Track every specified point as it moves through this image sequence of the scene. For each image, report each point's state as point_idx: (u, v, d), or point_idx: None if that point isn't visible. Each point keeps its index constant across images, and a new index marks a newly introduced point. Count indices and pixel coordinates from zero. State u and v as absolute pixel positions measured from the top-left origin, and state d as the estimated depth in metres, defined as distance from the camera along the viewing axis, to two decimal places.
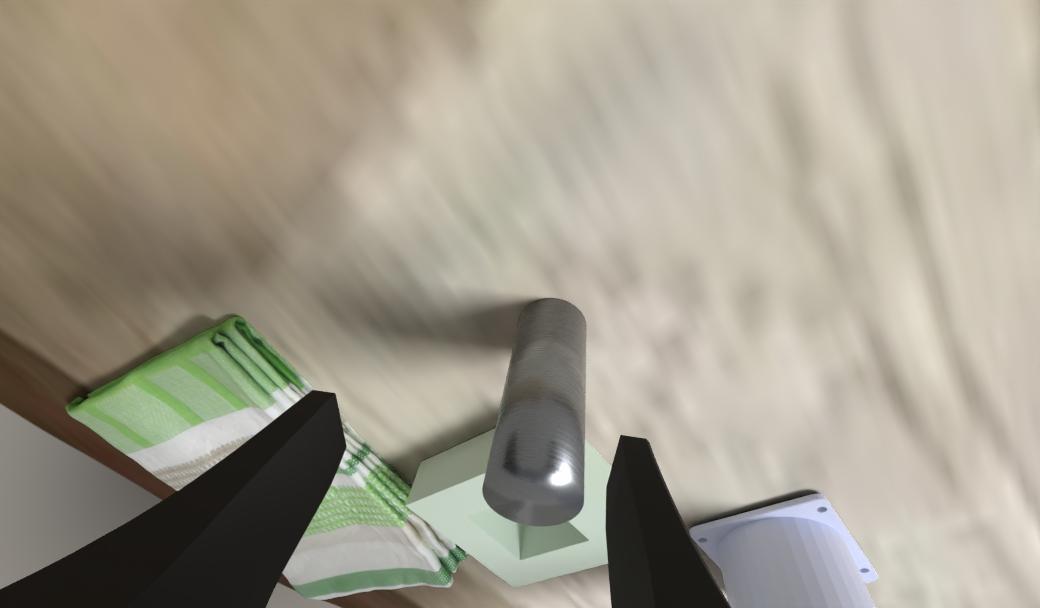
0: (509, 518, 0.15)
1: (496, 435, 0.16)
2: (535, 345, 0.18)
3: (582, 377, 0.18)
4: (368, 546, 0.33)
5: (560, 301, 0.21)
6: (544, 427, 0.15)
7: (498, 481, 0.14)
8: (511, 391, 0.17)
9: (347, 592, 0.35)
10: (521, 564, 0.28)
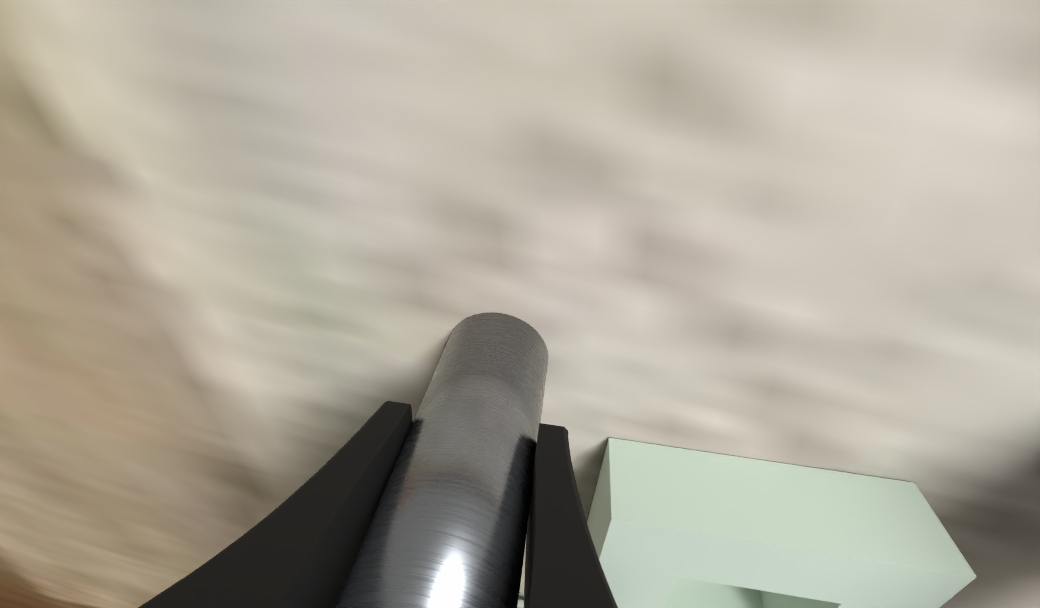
0: None
1: None
2: (416, 415, 0.12)
3: (482, 420, 0.10)
4: None
5: (463, 322, 0.14)
6: (357, 580, 0.08)
7: None
8: None
9: None
10: None
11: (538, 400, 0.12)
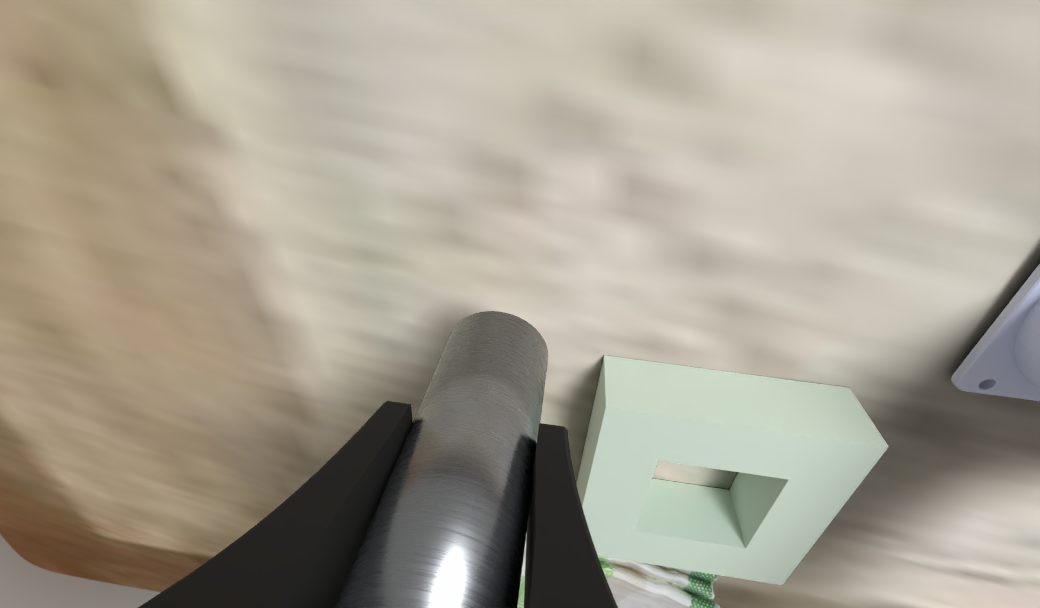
0: None
1: None
2: (417, 413, 0.12)
3: (483, 417, 0.10)
4: None
5: (464, 320, 0.14)
6: (358, 576, 0.08)
7: None
8: None
9: None
10: (752, 552, 0.21)
11: (538, 398, 0.12)
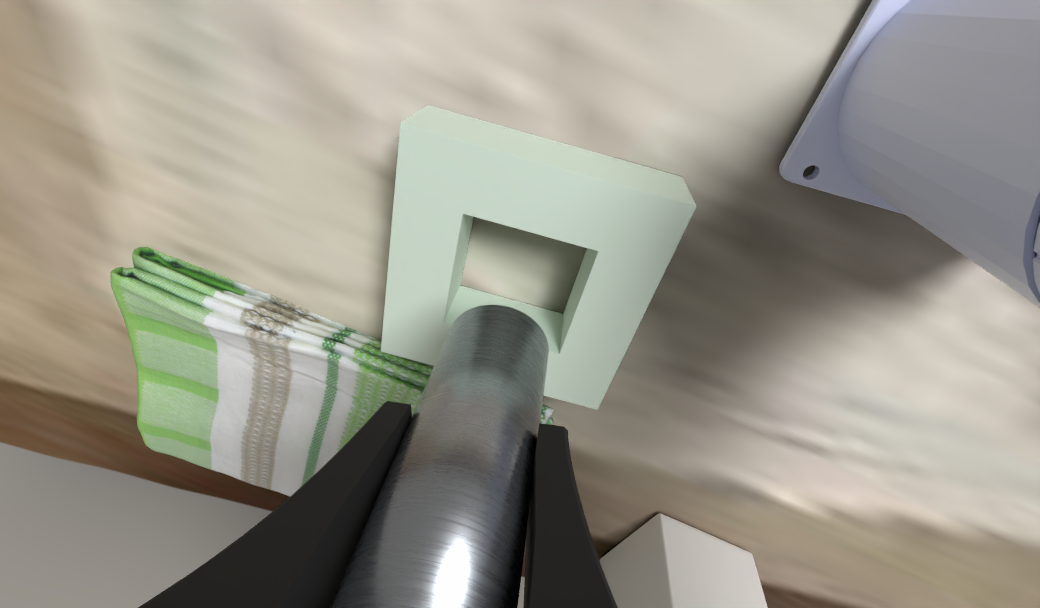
0: None
1: None
2: None
3: (471, 406, 0.10)
4: None
5: (458, 318, 0.14)
6: (349, 570, 0.08)
7: None
8: None
9: None
10: (566, 360, 0.20)
11: (535, 383, 0.12)
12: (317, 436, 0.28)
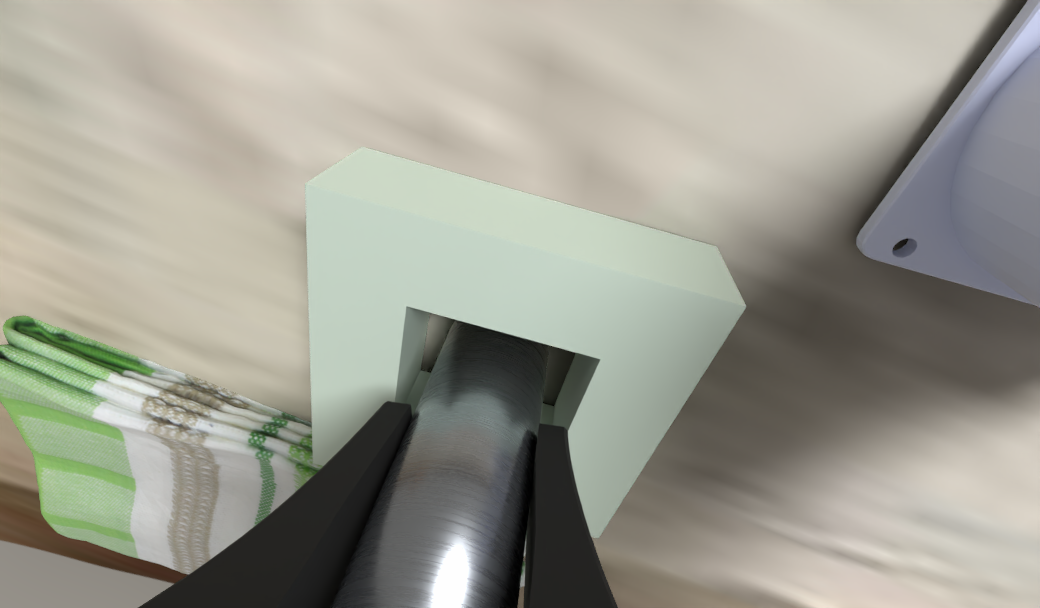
0: None
1: None
2: None
3: (472, 406, 0.10)
4: None
5: None
6: (350, 571, 0.08)
7: None
8: None
9: None
10: None
11: (535, 384, 0.12)
12: None
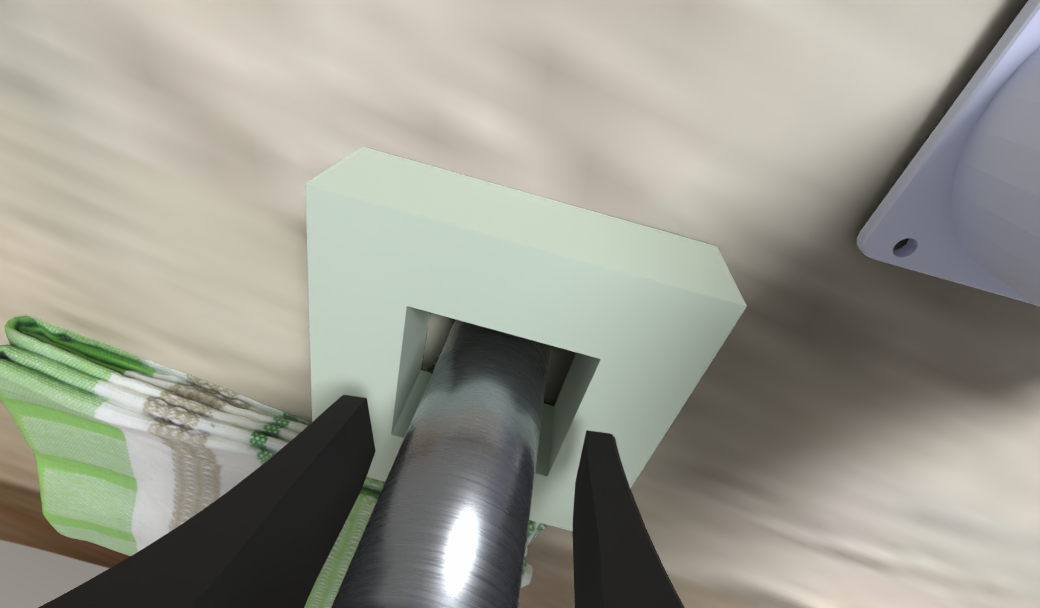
0: None
1: None
2: None
3: (481, 379, 0.11)
4: None
5: None
6: (370, 523, 0.09)
7: None
8: None
9: None
10: (557, 484, 0.15)
11: (539, 362, 0.13)
12: None
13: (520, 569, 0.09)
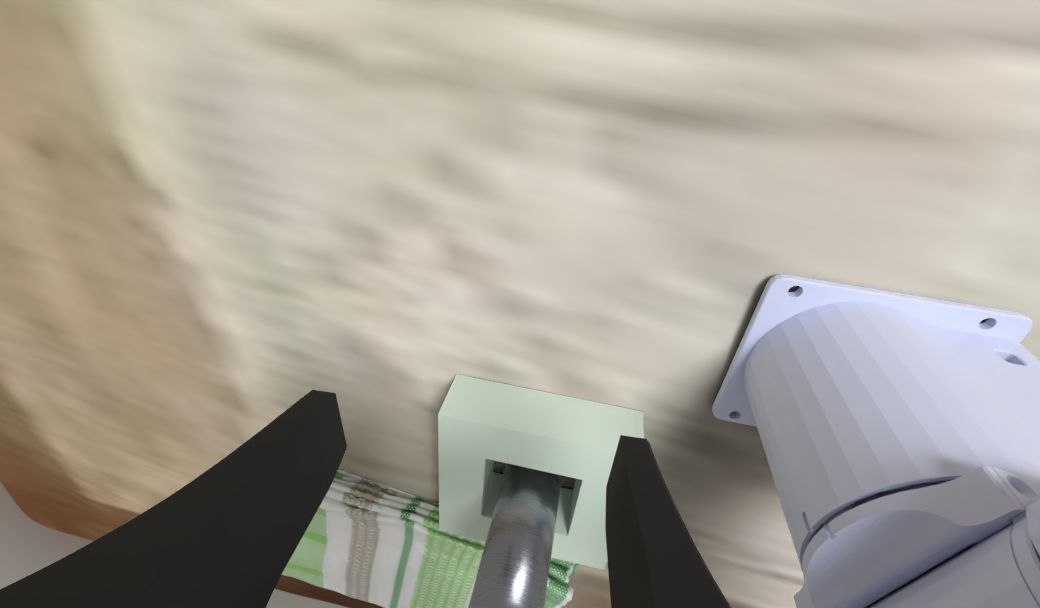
0: None
1: None
2: None
3: (523, 495, 0.23)
4: None
5: None
6: (480, 568, 0.21)
7: None
8: None
9: None
10: (574, 539, 0.26)
11: (555, 477, 0.25)
12: (400, 568, 0.36)
13: (544, 587, 0.20)
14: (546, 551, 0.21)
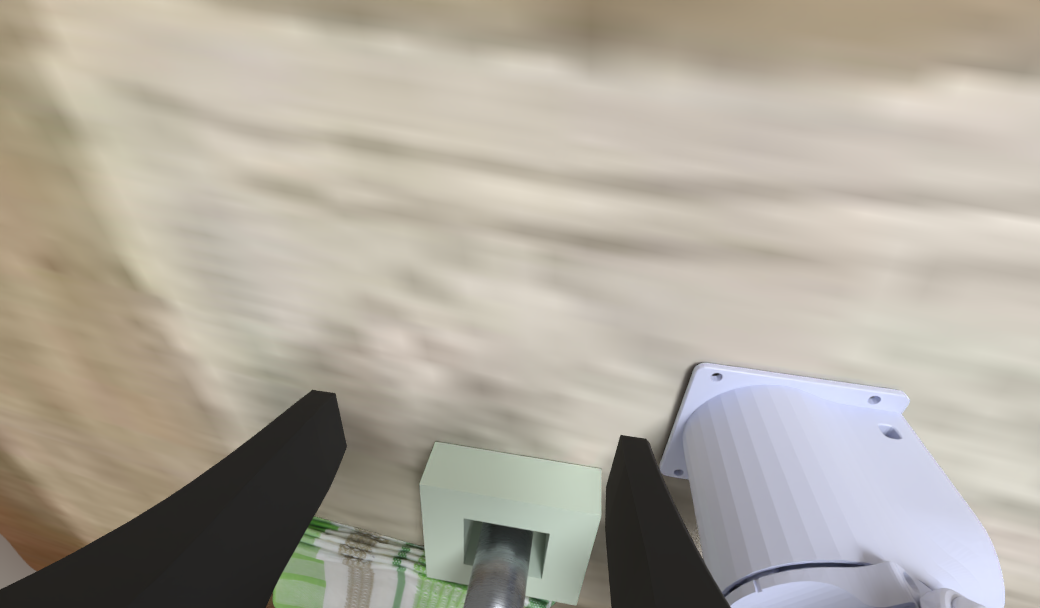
0: None
1: None
2: None
3: (498, 550, 0.26)
4: None
5: None
6: None
7: None
8: None
9: None
10: (547, 581, 0.29)
11: (526, 530, 0.28)
12: (395, 606, 0.39)
13: None
14: (519, 601, 0.25)
